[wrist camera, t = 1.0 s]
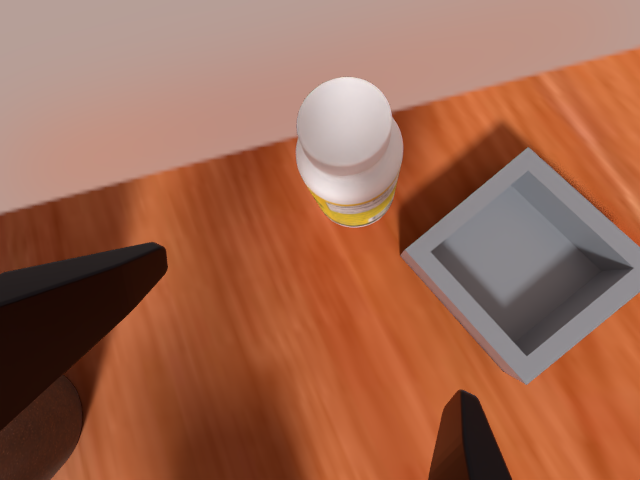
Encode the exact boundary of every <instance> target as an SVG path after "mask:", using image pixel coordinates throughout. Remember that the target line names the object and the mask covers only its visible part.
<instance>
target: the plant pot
mask: <svg viewBox="0 0 640 480" xmlns="http://www.w3.org/2000/svg"><path fill="white" fill-rule="evenodd" d="M81 426H82V407H81V402H80V399H79V396H78V393H77V391H76V389H75V387H74V386H73V385H72V383H71V382H70V381H69V380H68V379H67V378H66V377H65V376H64V375H62V376H61V377H60V378H58V379H57V380H56V381H55V382H54V383H53V384H52V385H51V386H50V387H49V388H48V389H46V390H45V391H44V392H43V393H42V394H41V395H40V396H39V397H38V398H37V399H36V400H35V401H33V402H32V403H31V404H30V405H29V406H28V407H27V408H26V409H25V410H24V411H23V412H21V413H20V414H19V415H18V416H17V417H16V418H15V419H14V420H13V421H12V422H11V423H9V424H8V425H7V426H6V427H5V428H4V429H3V430H2V431H1V432H0V480H50V479H51V478H52V477H53V476H54V475H55V474H56V473H57V471H58V470H59V469H60V468H61V467H62V466H63V464H64V463H65V462H66V461H67V460H68V458H69V457H70V455H71V454H72V452H73V450H74V449H75V447H76V444H77V442H78V439H79V436H80V432H81Z"/></svg>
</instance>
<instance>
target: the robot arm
mask: <svg viewBox="0 0 640 480" xmlns="http://www.w3.org/2000/svg"><path fill="white" fill-rule="evenodd" d="M167 268H168V264H167V255H166V249H165V248H164V247H163V246H161V245H159V244H157V243H154V242H149V243H145V244H140V245H135V246H130V247H125V248H120V249H115V250H111V251H106V252H101V253H96V254H91V255H86V256H81V257H77V258H72V259H67V260H62V261H57V262H52V263H47V264H42V265H38V266H33V267H28V268H23V269H18V270H13V271H8V272H4V273H2V274H0V432H1V431H2V430H3V429H4V428H5V427H6V426H7V425H8V424H9V423H11V422H12V421H13V420H14V419H15V418H16V417H17V416H18V415H19V414H20V413H21V412H23V411H24V410H25V409H26V408H27V407H28V406H29V405H30V404H31V403H32V402H33V401H35V400H36V399H37V398H38V397H39V396H40V395H41V394H42V393H43V392H44V391H45V390H46V389H48V388H49V387H50V386H51V385H52V384H53V383H54V382H55V381H56V380H57V379H58V378H60V377H61V376H62V375H63V374H64V373H65V372H66V371H67V370H68V369H69V368H70V367H72V366H73V365H74V364H75V363H76V362H77V361H78V360H79V359H80V358H81V357H82V356H84V355H85V354H86V353H87V352H88V351H89V350H90V349H91V348H92V347H93V346H94V345H96V344H97V343H98V342H99V341H100V340H101V339H102V338H103V337H104V336H105V335H106V334H107V333H109V332H110V331H111V330H112V329H113V328H114V327H115V326H116V325H117V324H118V323H119V322H121V321H122V320H123V319H124V318H125V317H126V316H127V315H128V314H129V313H130V312H131V311H132V310H133V309H134V308H135V307H136V306H137V305H138V304H139V303H140V301H141V300H142V299H143V298H144V297H145V296H146V295H147V294H148V293H149V291H150V290H151V289H152V288H153V287H154V286H155V285H156V284H157V283H158V281H159V280H160V279H161V278H162V277H163V276H164V275H165V273H166V271H167ZM428 480H512V478H511V475H510V473H509V470H508V468H507V466H506V463H505V461H504V459H503V456H502V454H501V451H500V449H499V447H498V444H497V442H496V440H495V437H494V435H493V432H492V430H491V428H490V425H489V423H488V420H487V418H486V416H485V413H484V411H483V409H482V406H481V404H480V401H479V399H478V398H477V397H476V396H475V395H473V394H471V393H468V392H466V391H464V390H458V391H457V392H456V393H455V395H454V396H453V397H452V398H451V400H450V401H449V402H448V403H447V404H446V406H445V408H444V410H443V413H442V417H441V422H440V426H439V431H438V435H437V440H436V444H435V449H434V453H433V458H432V462H431V467H430V472H429V478H428Z"/></svg>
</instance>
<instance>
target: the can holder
mask: <svg viewBox="0 0 640 480" xmlns="http://www.w3.org/2000/svg"><path fill="white" fill-rule="evenodd" d="M400 256H401V257H402V258H403V260H404V261H405V262H406V263H407V264H408V265H409V266H410V267H411V268H412V270H413V271H414V272H415V273H416V274H417V275H418V276H419V277H420V279H421V280H422V281H423V282H424V283H425V284H426V285H427V286H428V288H429V289H430V290H431V291H432V292H433V293H434V294H435V295H436V297H437V298H438V299H439V300H440V301H441V302H442V303H443V304H444V306H445V307H446V308H447V309H448V310H449V311H450V312H451V313H452V315H453V316H454V317H455V318H456V319H457V320H458V321H459V322H460V324H461V325H462V326H463V327H464V328H465V329H466V330H467V331H468V332H469V334H470V335H471V336H472V337H473V338H474V339H475V340H476V341H477V343H478V344H479V345H480V346H481V347H482V348H483V349H484V350H485V352H486V353H487V354H488V355H489V356H490V357H491V358H492V359H493V361H494V362H495V363H496V364H497V365H498V366H499V367H500V368H501V370H502V371H503V372H505V373H507V374H509V375H510V376H512V377H514V378H516V379H517V380H519V381H521V382H522V383H524V384H526V385H527V384H528V383H530V382H531V381H532V380H533V379H534V378H536V377H537V376H538V375H539V374H540V373H542V372H543V371H544V370H545V369H547V368H548V367H549V366H550V365H551V364H553V363H554V362H555V361H556V360H557V359H559V358H560V357H561V356H562V355H564V354H565V353H566V352H567V351H568V350H570V349H571V348H572V347H573V346H574V345H576V344H577V343H578V342H579V341H581V340H582V339H583V338H584V337H585V336H587V335H588V334H589V333H590V332H591V331H593V330H594V329H595V328H596V327H598V326H599V325H600V324H601V323H602V322H604V321H605V320H606V319H607V318H609V317H610V316H611V315H612V314H613V313H615V312H616V311H617V310H618V309H619V308H621V307H622V306H623V305H624V304H626V303H627V302H628V301H629V300H630V299H632V298H633V297H634V296H635V295H636V294H638V293H639V292H640V247H639V246H638V245H637V244H635V243H634V242H633V241H632V240H631V239H630V238H629V237H628V236H627V235H625V234H624V233H623V232H622V231H621V230H620V229H619V228H618V227H617V226H615V225H614V224H613V223H612V222H611V221H610V220H609V219H608V218H607V217H605V216H604V215H603V214H602V213H601V212H600V211H599V210H598V209H597V208H595V207H594V206H593V205H592V204H591V203H590V202H589V201H588V200H587V199H585V198H584V197H583V196H582V195H581V194H580V193H579V192H578V191H577V190H575V189H574V188H573V187H572V186H571V185H570V184H569V183H568V182H567V181H566V180H564V179H563V178H562V177H561V176H560V175H559V174H558V173H557V172H556V171H554V170H553V169H552V168H551V167H550V166H549V165H548V164H547V163H546V162H544V161H543V160H542V159H541V158H540V157H539V156H538V155H537V154H536V153H534V152H533V151H532V150H531V149H530V148H529V147H528V148H527V149H525V150H524V151H523V152H522V153H521V154H519V155H518V156H517V157H516V158H515V159H513V160H512V161H511V162H510V163H509V164H507V165H506V166H505V167H504V168H503V169H501V170H500V171H499V172H498V173H497V174H495V175H494V176H493V177H492V178H491V179H489V180H488V181H487V182H486V183H485V184H483V185H482V186H481V187H480V188H478V189H477V190H476V191H475V192H474V193H472V194H471V195H470V196H469V197H468V198H466V199H465V200H464V201H463V202H462V203H460V204H459V205H458V206H457V207H456V208H454V209H453V210H452V211H451V212H450V213H448V214H447V215H446V216H445V217H444V218H442V219H441V220H440V221H439V222H438V223H436V224H435V225H434V226H433V227H432V228H430V229H429V230H428V231H427V232H426V233H424V234H423V235H422V236H421V237H420V238H418V239H417V240H416V241H415V242H414V243H412V244H411V245H410V246H409V247H408V248H406V249H405V250H404V251H403V253H402V254H401V255H400Z"/></svg>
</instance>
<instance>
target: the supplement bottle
mask: <svg viewBox="0 0 640 480" xmlns="http://www.w3.org/2000/svg"><path fill="white" fill-rule="evenodd" d="M296 127H297V135H298V141H297V145H296V161H297V166H298V169H299V172H300V175H301V177H302V179H303V181H304V182H305V184H306V186H307V187H308V189H309V190H310V192H311V194H312V195H313V197H314V199H315V200H316V202H317V203H318V205H319V207H320V208H321V210H322V211H323V212H324V214H325V215H326V216H327V217H328V218H329V219H331V220H332V221H334V222H335V223H337V224H339V225H342V226H346V227H363V226H367V225H369V224H372V223H374V222H375V221H377V220H378V219H380V218H381V217H382V216H383V215H384V214H385V213H386V212H387V210H388V209H389V207H390V205H391V203H392V201H393V197H394V194H395V189H396V185H397V180H398V176H399V172H400V168H401V164H402V157H403V140H402V135H401V132H400V129H399V127H398V125H397V123H396V122H395V120H394V119H393V117H392V112H391V108H390V105H389V102H388V100H387V98H386V97H385V95H384V94H383V93H382V92H381V90H380V89H379V88H377V87H376V86H375V85H373V84H372V83H370V82H368V81H366V80H363V79H360V78H354V77H339V78H335V79H331V80H329V81H326V82H324V83H322V84H321V85H319V86H318V87H316V88H315V89H314V90H313V91H311V92H310V94H309V95H308V96H307V97H306V98H305V100H304V101H303V103H302V105H301V107H300V109H299V112H298V117H297V125H296Z"/></svg>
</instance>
